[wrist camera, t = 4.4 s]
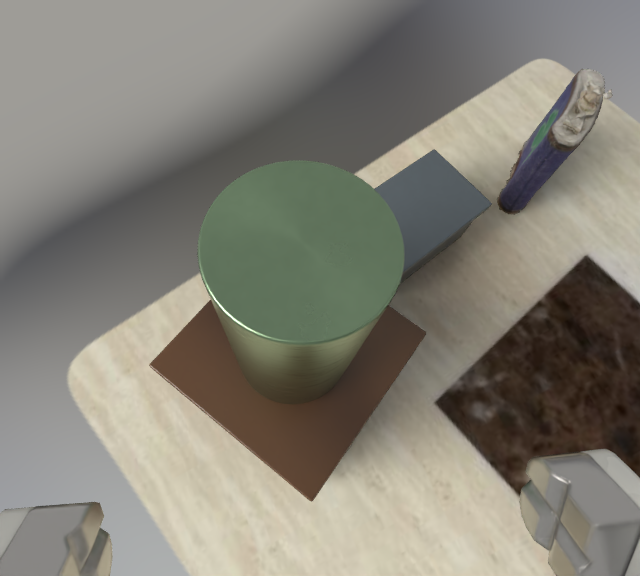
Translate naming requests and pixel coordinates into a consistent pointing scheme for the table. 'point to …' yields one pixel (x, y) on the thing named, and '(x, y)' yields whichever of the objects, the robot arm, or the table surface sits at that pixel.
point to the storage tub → (430, 208)
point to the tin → (299, 273)
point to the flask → (554, 139)
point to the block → (287, 419)
